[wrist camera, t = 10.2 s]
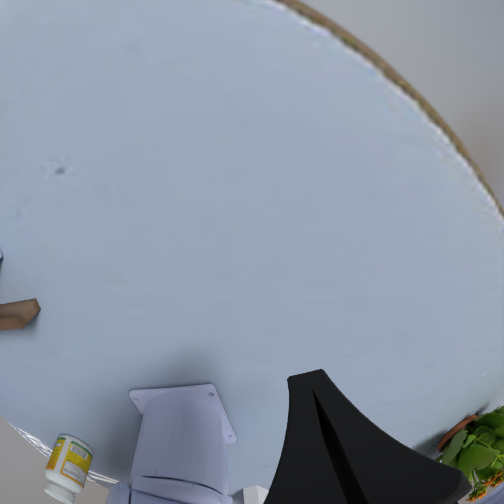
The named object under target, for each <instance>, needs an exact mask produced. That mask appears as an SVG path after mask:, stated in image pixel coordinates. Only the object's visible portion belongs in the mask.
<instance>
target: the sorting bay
mask: <svg viewBox="0 0 504 504" xmlns="http://www.w3.org/2000/svg"><path fill="white" fill-rule="evenodd" d="M39 310H40V307H39V305H38V303H37V300H36V299H30V300H24V301H19V302H13V303H7V304H1V305H0V330H8V329H22V328H24V327H25V325H26V324H27V323H28V322H29V321H30V320H31V319H32V318H33V317H34V316H35V314H36V313H37V312H38V311H39Z"/></svg>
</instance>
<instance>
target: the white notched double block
mask: <svg viewBox="0 0 504 504" xmlns="http://www.w3.org/2000/svg"><path fill="white" fill-rule="evenodd" d="M268 492H269V491H268V490H266V489H264V488H262V487H260V486H258V485H256V486H252V487H247V488H243V494H244V504H263V503H264V501H265V498H266V496H267V494H268Z"/></svg>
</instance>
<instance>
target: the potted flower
mask: <svg viewBox="0 0 504 504" xmlns="http://www.w3.org/2000/svg"><path fill="white" fill-rule="evenodd" d="M499 407H500V406H499ZM499 407H498V408H499ZM438 448H439V452H443V454H442V455H441V456H439V457H438V458H436V459H435V461H437V462H440V460H441V459H442V464H445V465H448V466H451V467H454V468H457V469H460V470H461V471H462V472H463V473H464V475H465V476H466V477H467V478H468V480H469V482H470V484H471V479H472V478H473V479H474V482H475V488H476V487H477V489H476V491H475V488H474V487H473V488H474V491H473V492H472V493H471V494H469V499H467V500H466V501H468V500H469V501H475V499H477V498H482V497H483V496H484V495H485V494H487V493H486V489H487V488H486V487H489V485H490V484H491V486H492V487H495V486H497V485H498V484H499V483H500V482H504V469H503V468H504V406H502V407H501V408H499V409H498V410H497V408H496V409H495V410H494V411H492V412H490V413H486V414H483V415H481V416H479V417H478V416H477V415H472V416H470V417H468V418H466V419H465V420H463V421H462V422H460V423H459V424H457V425H456V426H455V427H454V428H453V429H452V430H451V431H449V432H448V433H447V434H446V435H445V436H444V437H443V438H442V440H441V441H440V443H439V444H438ZM500 451H501V452H500ZM500 469H503V470H500ZM474 470H475V473H476V475H477V477H478V479H479V482H480V483H481V484H479V482H477V483H476V479H475V476H474ZM483 479H484V481H485V483H484V482H482V481H481V480H483ZM478 484H479V487H478ZM482 484H484V486H482ZM480 485H481V487H480ZM481 488H482V489H481Z"/></svg>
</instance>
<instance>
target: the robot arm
mask: <svg viewBox="0 0 504 504" xmlns="http://www.w3.org/2000/svg"><path fill="white" fill-rule="evenodd" d="M287 382H288V389H289V412H288V422H287V429H286V434H285V440H284V445H283V449H282V453H281V457H280V460H279V464H278V467H277V470H276V473H275V476H274V479H273V482H272V484H271V487H270V489H269V492H268V494H267V496H266V498H265V501H264V503H263V504H458V502H457V501H458V500H460V499H461V498H462V497H464V496H465V495H466V494H467V493H469V492H470V491H471V489H472V485H471V484H470V482H469V480H468V478H467V477H466V476H465V475H464V473H463V472H462V471H461V470H460V469H457V468H454V467H451V466H448V465H445V464H442V463H440V462H437V461H435V460H433V459H430V458H428V457H426V456H424V455H422V454H420V453H418V452H416V451H414V450H412V449H411V448H409V447H407V446H405V445H403V444H402V443H400V442H399V441H397V440H395V439H394V438H392V437H391V436H390V435H388V434H387V433H385V432H384V431H383V430H381V429H380V428H379V427H377V426H376V425H375V424H374V423H372V422H371V421H370V420H369V419H368V418H367V417H366V416H364V415H363V414H362V413H361V412H360V411H359V410H358V409H357V408H356V407H355V406H354V405H353V404H352V403H351V402H350V401H349V400H348V399H347V398H346V397H345V396H344V395H343V394H342V392H341V391H340V390H339V389H338V388H337V387H336V385H335V384H334V383H333V382H332V381H331V379H330V378H329V377H328V375H327V374H326V372H325V371H324V370H322V369H319V370H315V371H311V372H307V373H302V374H298V375H293V376H290V377H289V378H288V379H287ZM129 396H130V398H131V399H132V401H133V402H134V404H135V405H136V407H137V408H138V410H139V411H140V413H141V414H142V415H143V419H142V423H141V427H140V432H139V436H138V440H137V445H136V450H135V454H134V459H133V464H132V469H131V474H130V480H129V482H128V483H125V482H123V481H120V482H118V483H116V484H114V485H112V486H111V487H110V490H109V492H108V495H107V499H106V503H105V504H233V500H232V497H229V496H226V495H227V493H228V490H229V470H228V443H234V442H236V441H237V437H236V435H235V433H234V431H233V428H232V426H231V424H230V421H229V419H228V417H227V414H226V412H225V410H224V407H223V405H222V403H221V400H220V398H219V395H218V393H217V390H216V388H215V386H214V385H212V384H203V385H194V386H184V387H172V388H157V389H136V390H130V391H129ZM476 504H504V482H503V483H502V484H501V485H500V486H499V487H497V488H496V489H495V490H494V491H492V492H491V493H490V494H489V495H487V496H486V497H484V498H483V499H482V500H480V501H479V502H478V503H476Z"/></svg>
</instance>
